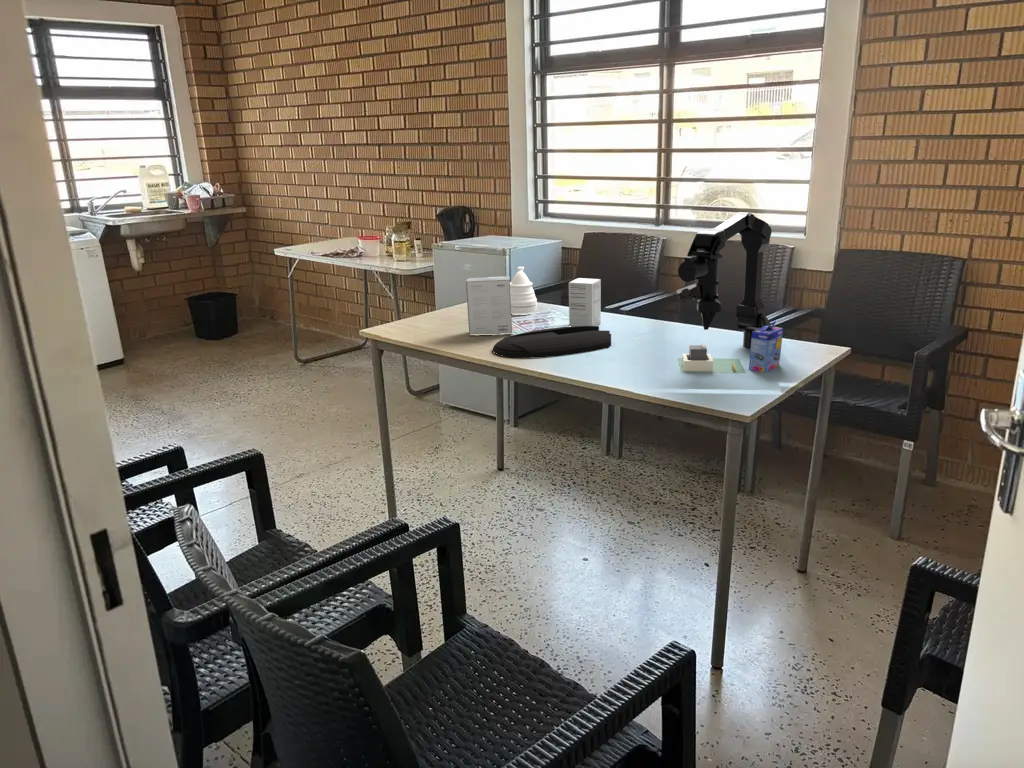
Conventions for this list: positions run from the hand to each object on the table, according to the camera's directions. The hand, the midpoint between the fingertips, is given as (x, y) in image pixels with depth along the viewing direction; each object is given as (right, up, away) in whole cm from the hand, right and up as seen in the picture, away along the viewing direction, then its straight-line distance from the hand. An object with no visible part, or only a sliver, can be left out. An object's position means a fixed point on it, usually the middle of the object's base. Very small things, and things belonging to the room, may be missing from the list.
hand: (705, 329), depth 219 cm
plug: (-3, -11, 0) cm, 11 cm away
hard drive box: (-64, +2, +52) cm, 83 cm away
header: (-3, -11, 0) cm, 11 cm away
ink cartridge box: (+16, -12, -2) cm, 20 cm away
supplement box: (-29, +5, +59) cm, 66 cm away
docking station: (-43, -4, +32) cm, 54 cm away
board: (+2, -11, +2) cm, 12 cm away
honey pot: (-53, +13, +85) cm, 101 cm away
